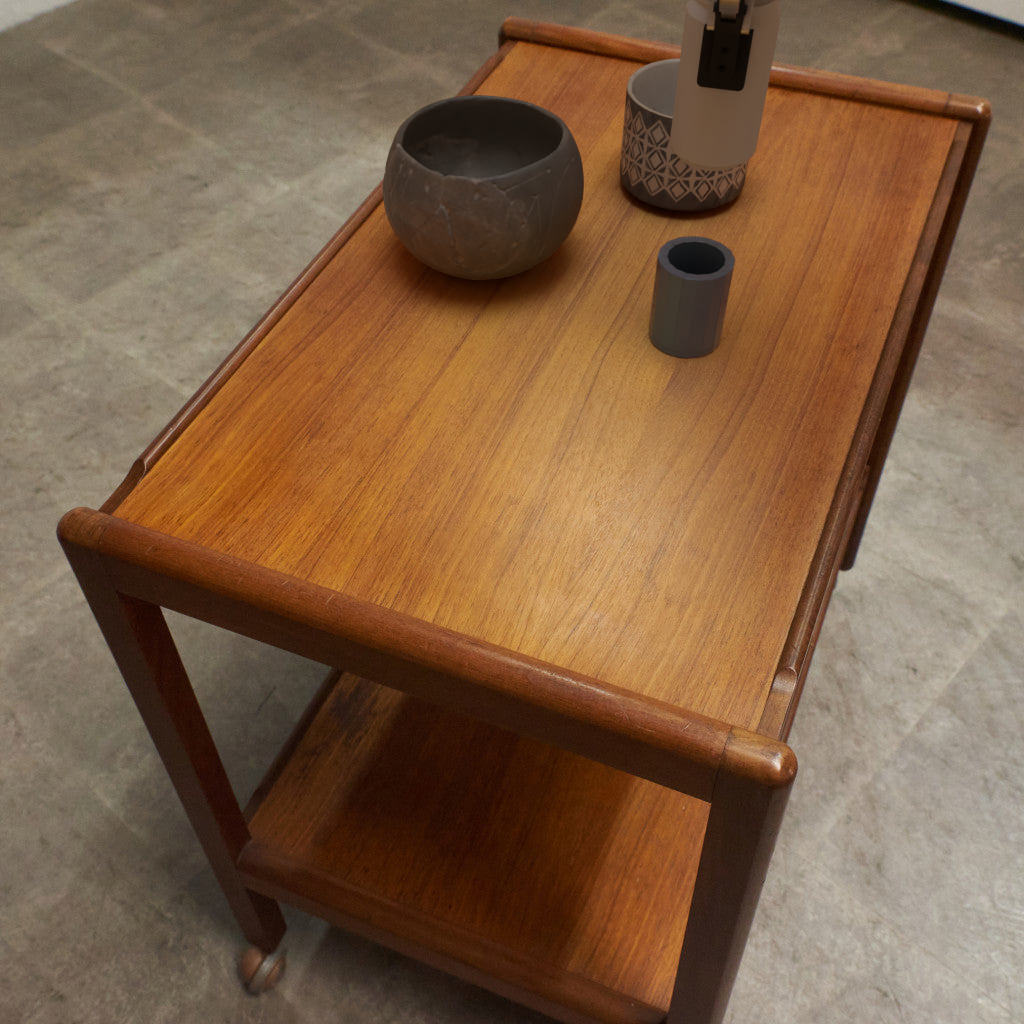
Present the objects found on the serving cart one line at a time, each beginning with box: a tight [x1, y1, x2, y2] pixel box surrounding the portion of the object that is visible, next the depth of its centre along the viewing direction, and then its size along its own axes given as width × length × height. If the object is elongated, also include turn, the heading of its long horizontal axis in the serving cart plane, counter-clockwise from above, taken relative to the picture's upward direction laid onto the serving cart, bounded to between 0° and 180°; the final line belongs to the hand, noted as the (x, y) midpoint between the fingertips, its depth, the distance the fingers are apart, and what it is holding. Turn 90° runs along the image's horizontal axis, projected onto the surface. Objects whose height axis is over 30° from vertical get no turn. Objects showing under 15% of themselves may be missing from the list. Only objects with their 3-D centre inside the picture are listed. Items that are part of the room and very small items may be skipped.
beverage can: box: [670, 0, 783, 171], centre depth 75 cm, size 6×6×12 cm
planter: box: [618, 57, 750, 212], centre depth 105 cm, size 13×13×10 cm
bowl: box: [382, 94, 585, 281], centre depth 96 cm, size 18×18×13 cm
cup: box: [648, 235, 736, 359], centre depth 90 cm, size 6×6×8 cm
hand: (726, 61), depth 74 cm, fingers closed on beverage can, 6 cm apart
